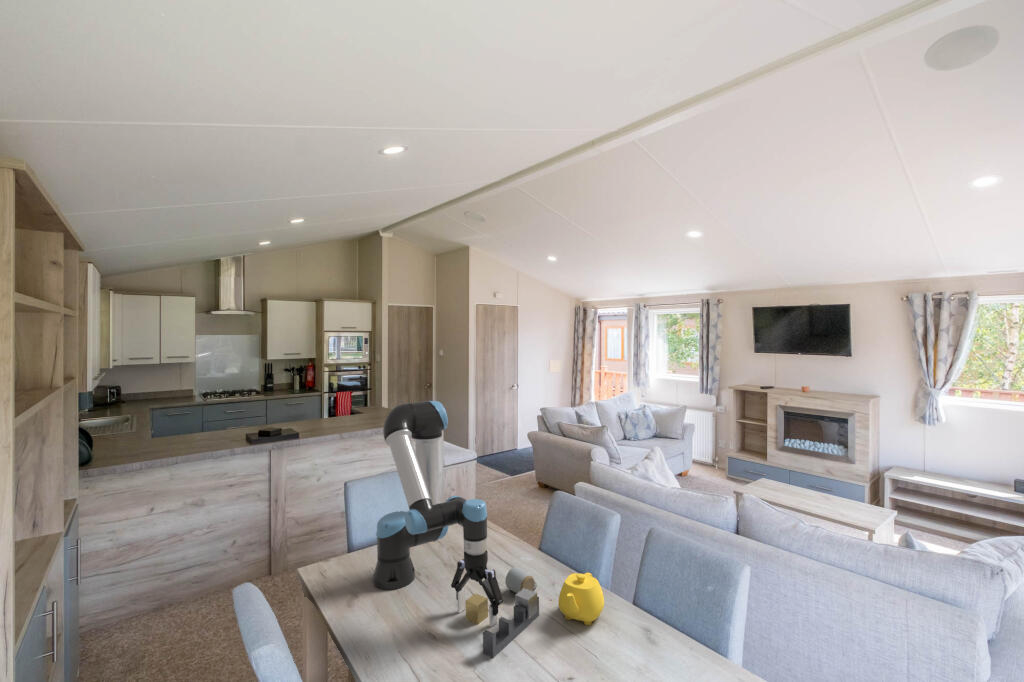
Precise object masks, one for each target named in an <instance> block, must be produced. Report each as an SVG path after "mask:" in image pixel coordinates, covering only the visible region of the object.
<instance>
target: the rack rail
mask: <svg viewBox="0 0 1024 682" xmlns="http://www.w3.org/2000/svg"><path fill="white" fill-rule="evenodd" d="M537 609H538V612H537V613H535V614H534V615H533V616H532V617H531V618H530V619H526V608H523V607H521V606H518V605H515V604H514V606H513V618H512V619H511V620H510V619H507V618H505V617H503V616H501V617H499V618H498V631H497V632H496V633H494V632H492V631H489V630H487V629H485V630H484V631H483V632H482V654H484V655H486V656H488V657H489V658H492V659H494V658H495V657H496V656H498V654H500V653H501V652H502V651H503V650H504V649H505V648H506V647H507V646H508V645H509V644H510V643H512V641H514V639H516V638H517V637H518V636H519V635H521V633H523V631H524V630H525V629H527V627H529V625H531V624H532V623H533V622H534V621H535V620H536V619H538V618H539V616H540V596H538V595H537Z"/></svg>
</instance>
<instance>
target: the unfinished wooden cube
mask: <svg viewBox="0 0 1024 682" xmlns="http://www.w3.org/2000/svg"><path fill="white" fill-rule="evenodd" d="M488 601H489V599H488V597H486V596H482V595H480V594H478V593H474V594H473V595H471V596H470V597H468V598H467V599H465V620H466V621H468V622H470V623H473V624H475V625H479V624H481V623H483V621H484V620H486V619H487V618H489V604H488V603H489V602H488Z"/></svg>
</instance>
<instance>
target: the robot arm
mask: <svg viewBox="0 0 1024 682" xmlns="http://www.w3.org/2000/svg"><path fill="white" fill-rule="evenodd" d="M448 424H449V419H448V413H447V411H446V409H445V406H444V405H443V404H442V402H441V401H438V400H426V401H425V400H424V401H417V402H409V403H401V404H398V405H396V406H395V407H394V408H391V410H390V411H389V412H388V414H387V416H386V418H385V419H384V422H383V429H382V431H383V432H382V433H383V438H384V442H385V445H386V446H388V447H389V448H390V451H391V455H392V457H393V461H394V463H395V468H396V470H397V474H398V478H399V481H400V484H401V487H402V490H403V493H404V496H405V500H406V502H407V505H408V509H409V510H408V511H403V510H400V511H391V512H390V513H387V514H385V515H383V516H382V517H381V518H380V519H379V520H378V521H377V523H376V524H377V525H376V533H375V534H376V549H377V551H376V552H377V561H376V565H375V568H374V569H375V570H374V572H373V574H372V583H373V585H374V586H375V587H376V588H378V589H380V588H381V590H396V589H401V588H403V587H406V586H408V585H410V584H412V583H413V582H414V580H415V578H416V571H415V566H414V564H413V562H412V561H413V560H412V558H411V554H410V550H411V548H414V547H417V546H421V545H424V544H429V543H432V542H433V543H434V542H436V541H438V540H442V539H444V537H446V535H447V534H448V531H449V527H450V526H453V525H457V524H458V525H460V526H461V527H462V528H463V529H462V530H463V532H462V533H463V534H462V535H463V550H464V551H463V558H462V559H461V560H459V561H458V562H457V565H456V570H455V574H454V576H453V579H452V582H451V584H450V587H451V588H452V589H454V590H455V594H456V595H455V597H456V598H455V599H456V601H457V613H458V614H460V613H462V612H463V611H466V589H464V587H465V586H466V584H467V583H468V582H469V580H472V581H475V582H476V583H478V584H479V585H480V586H481V588H482V589H483V592H484V593H485V596H487V597H486V598H488V601H489V603H490V604H488V618H489V627H491V628H492V627H493V626H494V625H496V624H497V622H498V620H497V619H498V618H497V615H498V614H499V606H500V605H502V603H504V601H505V599H504V597H503V595H502V592H501V589H500V586H499V583H498V579H497V576H496V575H497V574H496V573H497V572H496V570H495V569H492V570H490V569H488V566H487V564H488V561H489V559H488V557H489V555H488V553H489V552H488V546H489V545H488V511H487V503H486V502H485V500H483V499H479V498H471V499H466V498H464V497H461V496H459V495H452V496H450V497H449V498H448V499H446V500H445V501H444V502H441V501H440V495H439V492H440V490H439V489H440V488H439V485H440V484H439V440H440V439H441V438H442V437H443V431H445V430H447V428H448ZM412 440H413V441H414V443H415V445H413V442H412ZM414 446H415V447H414ZM464 571H466V572H465V574H464V575H463V573H464ZM462 576H463V577H462Z"/></svg>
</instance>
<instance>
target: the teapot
mask: <svg viewBox="0 0 1024 682" xmlns="http://www.w3.org/2000/svg"><path fill="white" fill-rule="evenodd" d="M603 592H604V591H603V590H602V587H601V585H600V582H599V580H598V579H597V578H596V577H594V576H593V574H592V573H590V572H585V573H578V572H576V573H574V572H573V573H571V574H569V575H568V576H567V577H566V578H565V580H564V582H563V584H562V587H561V590H560V592H559V595H558V604H557V605H558V608H559V610H560V611H561V613H562V614H563V615H564V619H565V620H568V621H571V620H575V621H581V622H582V623H583V625H584V626H591V625H592V624H593V623H592V622H593V621H596V620H597V619H598V618H599V616H600V615H601V614H602V612H603V610H604V608H605V607H604V606H605V598H604V597H605V596H604V593H603Z"/></svg>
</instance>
